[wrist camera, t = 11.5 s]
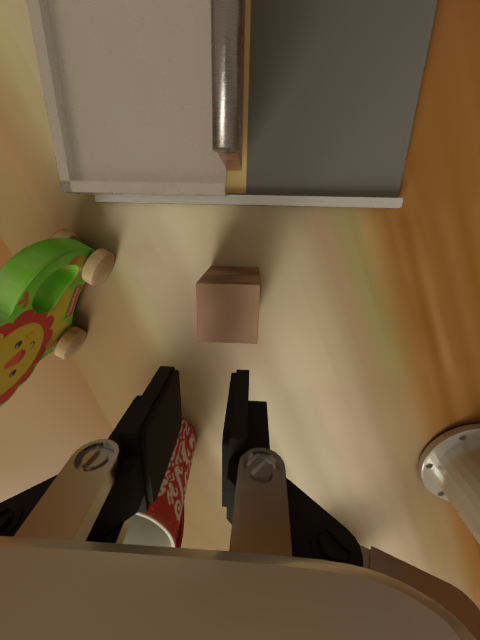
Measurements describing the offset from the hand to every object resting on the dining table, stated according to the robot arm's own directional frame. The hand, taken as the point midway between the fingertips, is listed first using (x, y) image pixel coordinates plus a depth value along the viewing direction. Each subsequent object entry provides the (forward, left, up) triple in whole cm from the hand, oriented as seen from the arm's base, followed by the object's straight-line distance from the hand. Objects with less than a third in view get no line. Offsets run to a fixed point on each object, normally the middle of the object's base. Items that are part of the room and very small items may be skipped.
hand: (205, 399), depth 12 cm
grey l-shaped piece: (+7, -19, -18) cm, 27 cm away
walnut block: (0, 0, -19) cm, 19 cm away
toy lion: (+18, +2, -19) cm, 27 cm away
